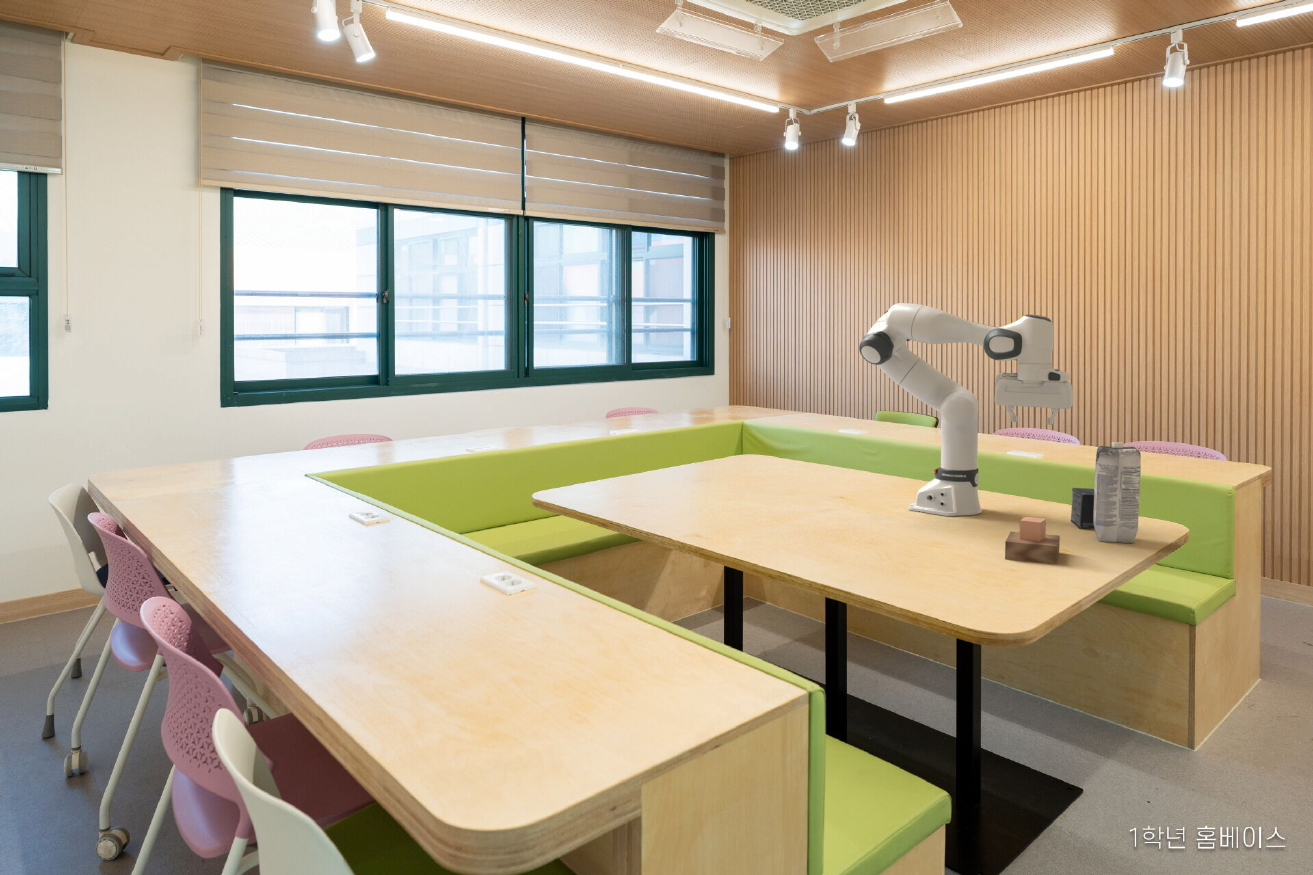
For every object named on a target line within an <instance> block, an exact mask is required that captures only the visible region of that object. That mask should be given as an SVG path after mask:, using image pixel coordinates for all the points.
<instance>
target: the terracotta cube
mask: <svg viewBox="0 0 1313 875" xmlns="http://www.w3.org/2000/svg"><path fill="white" fill-rule="evenodd" d="M1046 527H1047V518H1043V517H1042V518H1041V517H1033V516H1025V517H1022V519H1020V521H1019V532H1020V539H1022V540H1030V541H1038V542H1040V541H1042V540H1043V539H1044V538H1045V536H1046V534H1047V533H1046V530H1047V529H1046Z"/></svg>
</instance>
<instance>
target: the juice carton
mask: <svg viewBox="0 0 1313 875" xmlns="http://www.w3.org/2000/svg"><path fill="white" fill-rule="evenodd" d="M1095 456H1096V457H1095V458H1096V459H1095V470H1094V471H1095V473H1094V489H1095V491H1094V517H1093V522H1094V528H1095V529H1094V531H1095V535H1096V538H1097V539H1098V542H1103V541H1104V542H1106V543H1119V544H1120V543H1122V544H1133V543H1134V542H1135V540H1136V537H1137V533H1138V529H1139V517H1140V516H1139V514H1140V510H1139V509H1140V497H1141V496H1140V495H1141V494H1140V493H1141V492H1140V491H1141V475H1142V474H1141V471H1142V468H1141V467H1142V464H1141V463H1142V462H1141V452H1140V450H1139V449H1138V448H1137V447H1135V446H1124V442H1122V441H1121V442H1120V441H1117V442H1116V441H1112V442H1111V446H1108V445H1106V446H1105V445H1099V446H1098V447H1097V449H1096V454H1095Z"/></svg>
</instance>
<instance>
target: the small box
mask: <svg viewBox="0 0 1313 875" xmlns="http://www.w3.org/2000/svg"><path fill="white" fill-rule="evenodd" d="M1071 490H1072V491H1071V492H1072V494H1071V498H1072V499H1071V514H1070V522H1071V523H1072V524H1073V525H1074V524H1075V525H1074V526H1075V527H1077V528H1078V529H1079V530H1095V528H1094V522H1093V517H1094V491H1095V488H1086V487H1085V488H1084V487H1083V488H1081V487H1072V488H1071Z"/></svg>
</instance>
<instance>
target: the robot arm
mask: <svg viewBox="0 0 1313 875" xmlns="http://www.w3.org/2000/svg"><path fill="white" fill-rule="evenodd" d="M1054 329H1055V328H1054V323H1053V321H1052V320H1051V318H1049V317H1047V316H1042V315H1038V314H1037V315H1036V314H1024V315H1023V316H1022V317H1021V318H1019V319H1017V320H1015V321H1013V322H1011V323H1008V324H1006V325H1002V326H999V327H998V326H997V327H996V326H993V325H987V324H982V323H979V322H975V321H970V320H968V319H967V320H966V319H965V318H962V317H959V316H956V315H954V314H952V313H949V312H947V311H944V310H942V309H939V308H937V307H933V306H928V305H924V304H919V303H909V302H899V303H898V302H897V303H894V304H893V305H892V306H890V307H889V309H887V310H885V312H884V314H883V315H881V316H880V317H879V318H878V319H877V320H876V321H875V322H874V323H873V325H872V326H871V327H870V329H869V330H868V331H867V333H866V334H865V335H863V337H862V339H861V341H860V343H859V347H858V350H859V354H860V355H861V357H862V358H863V360H865V361H866V362H868V364H871V365H874V366H878V368H879V369H880V370H881V371H882V372H883V373H884V374H885V375H886V376H887V377H888V378H889V379H890V380H891V381H893V382H894V383H895V384H896V385H898V386H899V387H900V388H902V389H903V390H904V391H906V392H907V393H908V394H910V395H912V397H914V398H916V399H917V400H918V401H920V402H922V403H923V404H925V405H927V406H928V407H930V408H932V409H933V410H935V411H937V412H938V413H939V414H940V445H941V446H940V466H938V467H937V468H936V469H934V470H933V474H934V478H933V479H931V480H930V481H929V482H927V483H925V484H924V485H923V486H922V487H921V488H919V489H918V490H917V493H916V497H915V501H914V502H911V503H910V504H909V505H908V508H909V509H910V511H915V512H919V511H920V513H926V514H934V515H939V516H945V517H955V516H973V515H979V514H981V513H982V509H981V508H982V507H981V504H980V499H979V498H980V497H979V491H978V488H979V487H978V486H979V482H980V481H979V480H980V474H979V473H980V472H979V468H978V450H979V449H978V447H979V446H978V445H979V444H978V440H979V439H978V436H979V435H978V433H979V430H978V428H979V421H978V420H979V409H980V408H979V406H980V405H979V401H978V398H977V396H976V395H975V394H974V393H973V392H972V391H970V390H969V389H968V388H966V387H964V386H962V385H961V384H960V383H958V382H956V381H955V380H953V379H952V378H950V377H949V376H947V375H946V374H944V373H943V372H942V371H940V370H939V369H936V368H935V367H934V366H932V365H931V364H930V363H928V362H927V361H925V359H923V358H921V357H920V356H918V355H917V354H915V353H914V352H913V351H911V350H910V349H909V348H908V345H907V342H910V341H913V342H917V343H922V344H929V345H945V344H957V343H958V344H959V343H964V344H972V345H976V346H981V347H983V351H984V353H985V354H986V355H987V357H989V358H990V359H992V360H994V361H999V362H1002V361H1003V362H1010V361H1017V372H1009V373H1008V372H1001V373H999V374H998V375H997V376H996V377H995V383H994V384H995V387H996V388H995V394H994V399H993V400H994V403H995V404H996V405H997V406H1004V407H1005V406H1006V410H1007V412H1008V413H1009V416H1010V422H1011V423H1018V421H1019V415H1016V414H1015V413H1014V410H1015V407H1025V408H1026V407H1027V408H1040V409H1042V408H1043V409H1050V410H1051V411H1050V412H1051V413H1052V414H1051V415H1050V417H1046V420H1045V421H1046V423H1045V424H1046V425H1051V426H1052V425H1054V422H1055V421H1054V420H1055V419H1054V418H1055V417H1056V416H1057V415H1058V413H1059V409H1062V410H1069V409H1071V408H1072V407H1073V405H1074V390H1073V385H1072V383H1070V381H1069V380H1070V379H1071V374H1070V373H1069V372H1067V371H1063V370H1061V369H1058V368H1055V367H1053V362H1054V361H1053V357H1052V353H1053V350H1054V344H1055V343H1054V342H1055V340H1054V339H1055V335H1054V332H1055V331H1054ZM909 509H908V510H909Z"/></svg>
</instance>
